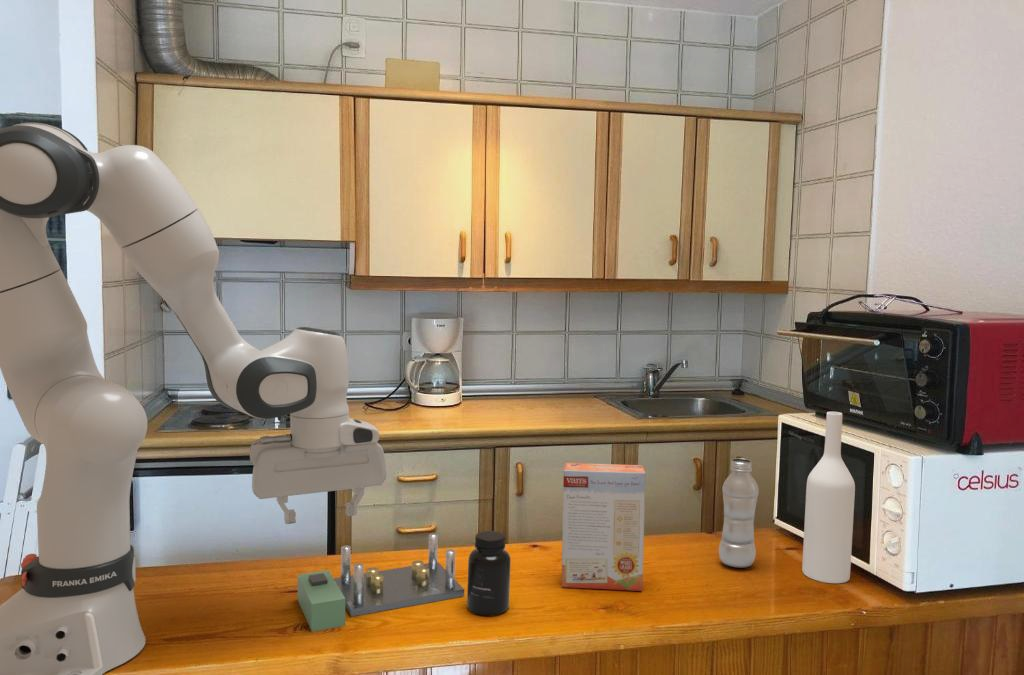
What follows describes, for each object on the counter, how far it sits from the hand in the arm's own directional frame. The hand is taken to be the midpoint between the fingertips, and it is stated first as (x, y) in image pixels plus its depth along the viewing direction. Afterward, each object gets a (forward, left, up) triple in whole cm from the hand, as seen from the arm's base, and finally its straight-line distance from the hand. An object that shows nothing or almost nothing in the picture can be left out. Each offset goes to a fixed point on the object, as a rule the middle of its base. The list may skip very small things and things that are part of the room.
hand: (321, 518), depth 118 cm
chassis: (+13, +3, -15) cm, 20 cm away
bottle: (+87, -21, -15) cm, 91 cm away
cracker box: (+47, -8, -15) cm, 50 cm away
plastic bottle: (+75, -11, -15) cm, 77 cm away
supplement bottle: (+25, -9, -15) cm, 31 cm away
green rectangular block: (0, 0, -15) cm, 15 cm away
